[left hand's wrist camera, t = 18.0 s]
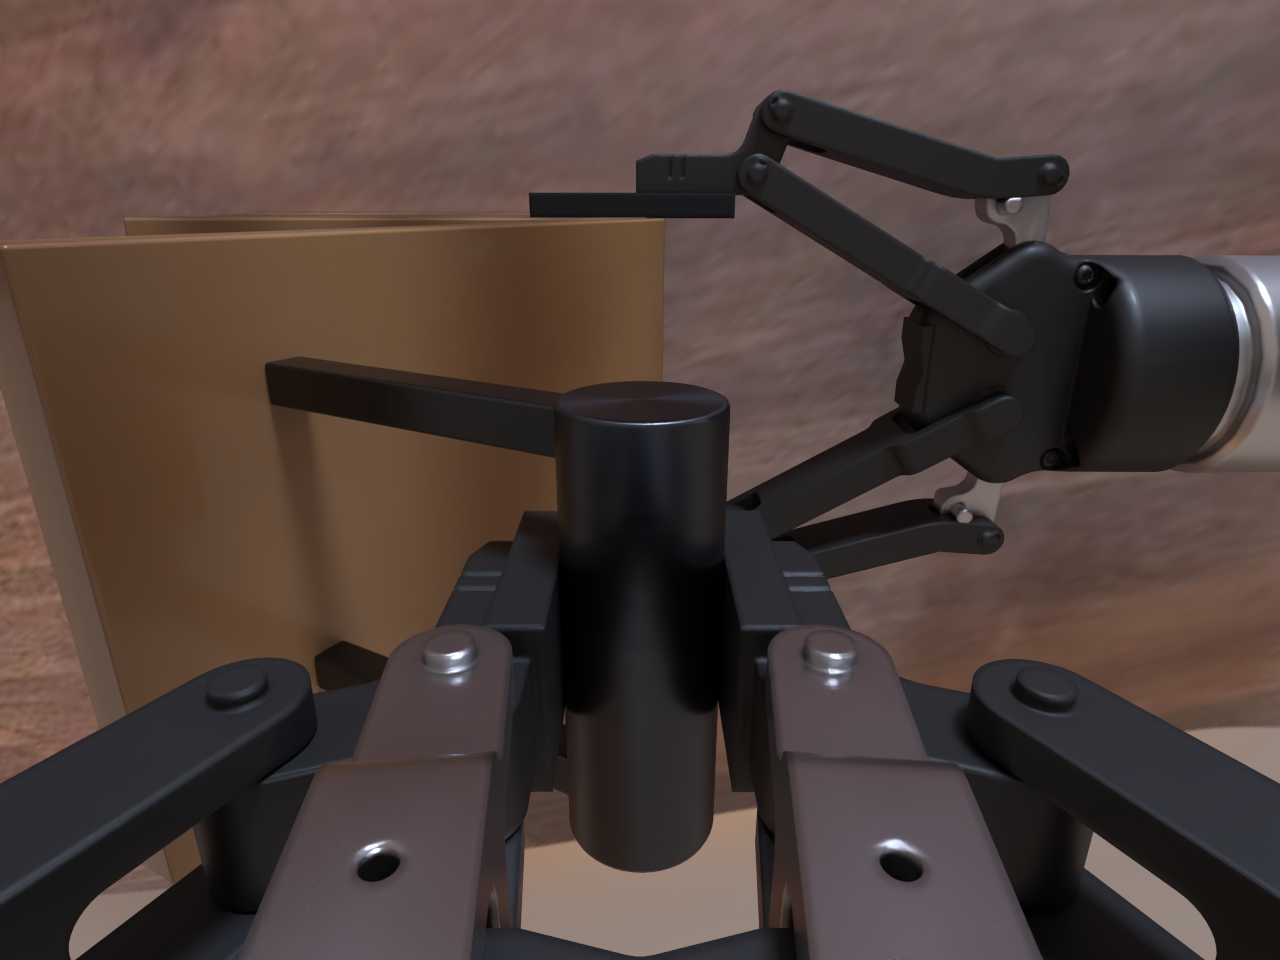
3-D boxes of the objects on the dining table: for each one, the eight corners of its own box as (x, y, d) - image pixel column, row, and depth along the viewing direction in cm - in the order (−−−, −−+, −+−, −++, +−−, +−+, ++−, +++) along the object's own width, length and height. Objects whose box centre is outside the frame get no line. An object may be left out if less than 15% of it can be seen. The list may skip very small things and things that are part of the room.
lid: (135, 860, 13) (576, 1168, 9) (-44, 242, 10) (536, 272, 5) (633, 520, 27) (895, 578, 23) (632, 218, 23) (941, 221, 19)
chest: (294, 441, 35) (185, 514, 27) (257, 213, 32) (121, 217, 24) (648, 443, 35) (647, 516, 27) (649, 213, 32) (648, 217, 24)
